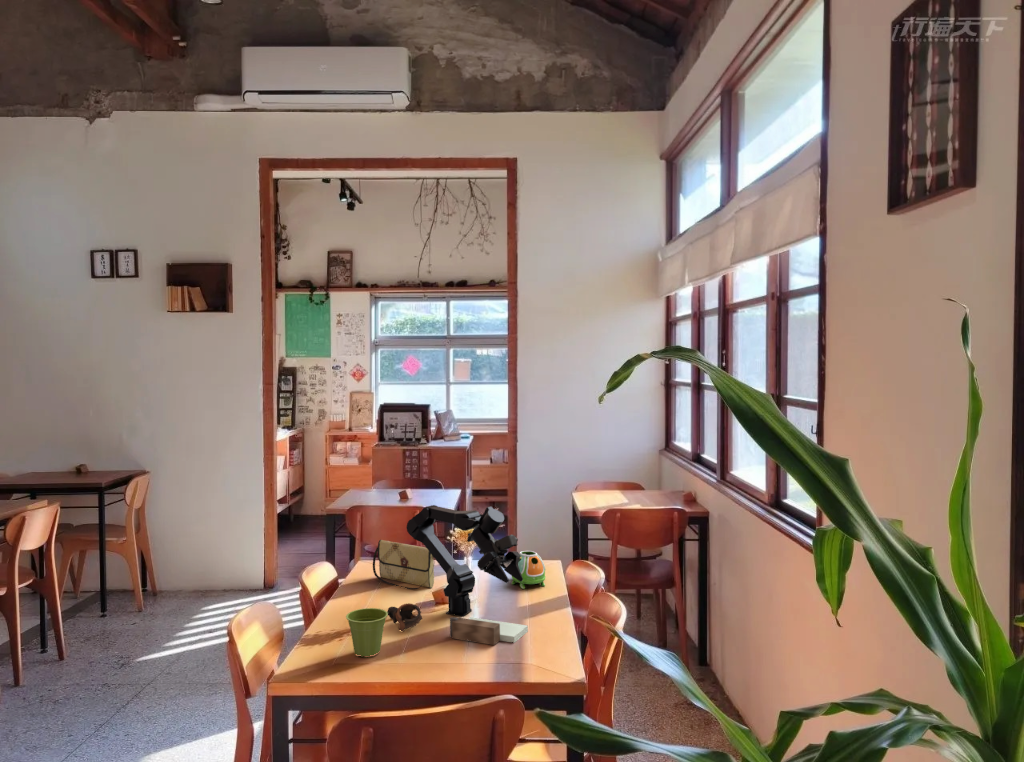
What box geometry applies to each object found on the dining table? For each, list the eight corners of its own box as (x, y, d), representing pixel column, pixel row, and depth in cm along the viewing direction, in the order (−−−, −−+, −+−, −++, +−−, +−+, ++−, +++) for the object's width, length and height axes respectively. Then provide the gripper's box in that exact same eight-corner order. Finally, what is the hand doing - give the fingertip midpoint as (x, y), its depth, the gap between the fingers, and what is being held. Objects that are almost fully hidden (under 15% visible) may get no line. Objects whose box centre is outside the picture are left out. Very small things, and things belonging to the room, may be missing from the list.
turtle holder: (527, 574, 287) (527, 544, 287) (552, 586, 271) (551, 554, 271) (499, 579, 281) (499, 548, 281) (523, 592, 265) (522, 559, 265)
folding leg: (447, 637, 222) (447, 620, 221) (453, 633, 225) (453, 615, 225) (494, 645, 215) (493, 627, 215) (500, 640, 219) (499, 622, 218)
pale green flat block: (455, 633, 226) (455, 627, 225) (470, 622, 235) (470, 617, 235) (514, 642, 217) (514, 636, 217) (527, 631, 226) (527, 625, 226)
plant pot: (368, 664, 203) (368, 624, 203) (338, 656, 209) (337, 617, 209) (397, 650, 213) (396, 611, 213) (366, 642, 219) (366, 605, 219)
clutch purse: (368, 580, 283) (367, 542, 282) (381, 576, 288) (380, 538, 288) (426, 593, 266) (426, 552, 265) (439, 588, 272) (438, 548, 271)
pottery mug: (425, 622, 237) (427, 605, 233) (414, 645, 229) (415, 627, 225) (391, 611, 239) (392, 593, 235) (379, 633, 231) (379, 615, 227)
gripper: (488, 525, 226) (517, 564, 218) (516, 526, 242) (545, 563, 234) (464, 549, 228) (493, 589, 220) (494, 549, 244) (522, 586, 236)
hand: (515, 581), depth 228 cm, fingers open, 9 cm apart
